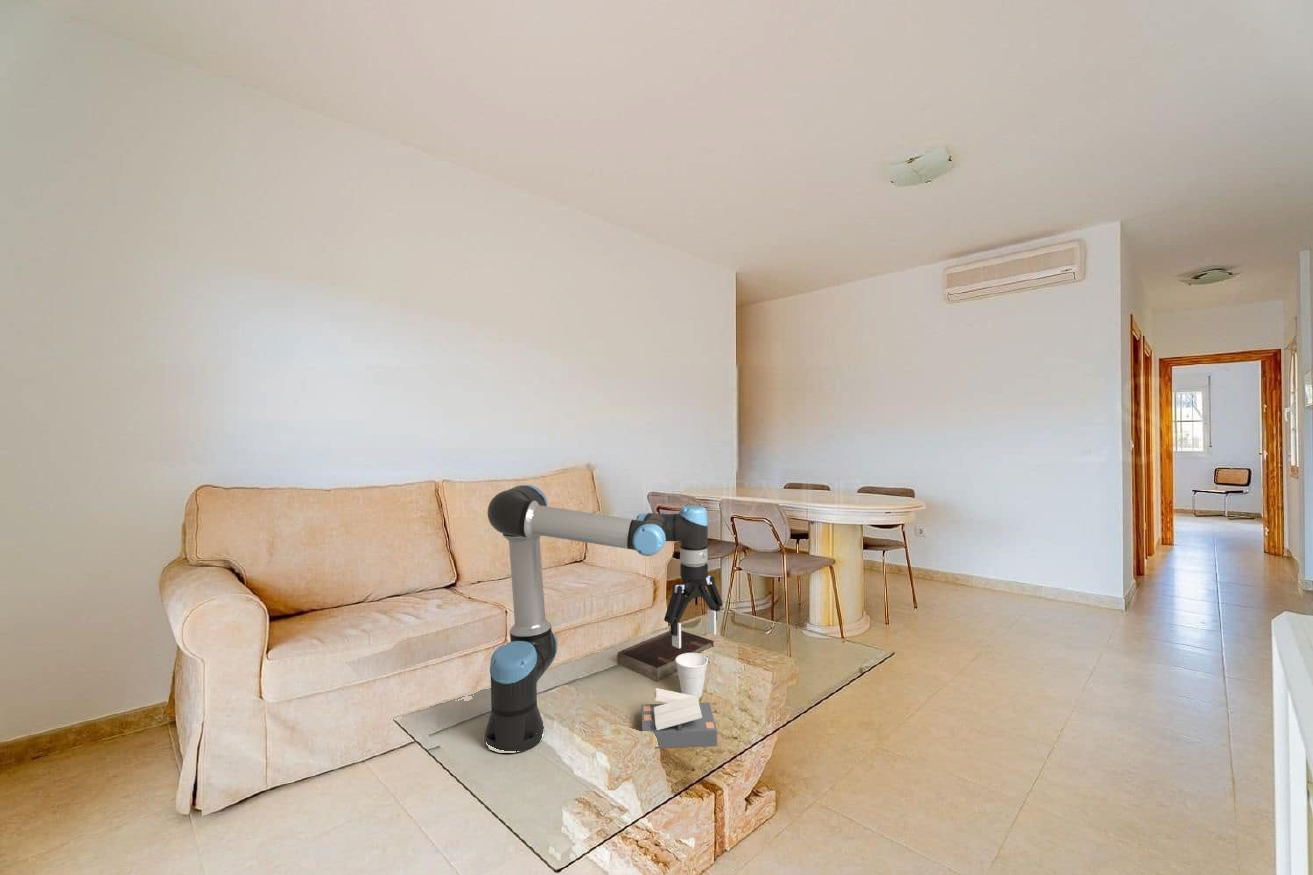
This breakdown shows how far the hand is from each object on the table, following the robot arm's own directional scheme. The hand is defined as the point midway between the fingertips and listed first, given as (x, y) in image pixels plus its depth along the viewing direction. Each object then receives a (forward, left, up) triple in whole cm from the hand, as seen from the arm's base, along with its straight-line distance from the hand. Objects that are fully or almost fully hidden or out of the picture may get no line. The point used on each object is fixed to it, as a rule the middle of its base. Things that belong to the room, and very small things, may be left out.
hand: (694, 639), depth 153 cm
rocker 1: (-5, 0, -17) cm, 18 cm away
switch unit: (-5, -5, -23) cm, 24 cm away
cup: (+1, +14, -23) cm, 27 cm away
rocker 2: (-5, -9, -17) cm, 20 cm away
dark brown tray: (-5, +40, -24) cm, 47 cm away
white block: (-5, -5, -17) cm, 18 cm away
